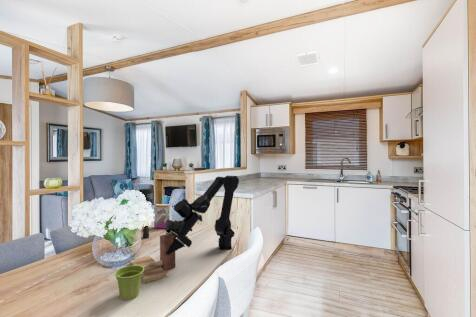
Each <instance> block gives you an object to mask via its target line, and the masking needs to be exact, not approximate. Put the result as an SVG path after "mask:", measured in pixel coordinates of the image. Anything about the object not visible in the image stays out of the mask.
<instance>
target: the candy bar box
mask: <svg viewBox="0 0 476 317" xmlns="http://www.w3.org/2000/svg"><path fill="white" fill-rule="evenodd" d="M153 205H154V212H155V221H154V222H153V223H154V225H153V226H154V227H153V228H154V229H165V228H166V227H167V226H165V224H166V222H167V220H168V219H169V220H172V221H173V219H172V218H173V214H172V212H173V211H172V210H173V205H172V203H170V204H169V203H156V204H153ZM154 212H153V213H154Z"/></svg>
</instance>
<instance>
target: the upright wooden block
mask: <svg viewBox="0 0 476 317" xmlns="http://www.w3.org/2000/svg"><path fill="white" fill-rule="evenodd" d="M174 238H175V236H174V235H173V234H171V233H168V232H167V233H166V232H165V234H160V235H159V258H160V260H157V261H155V262H154V263H150V264H147V265H144V266H142V267H144V270H148V269H151V268H154V267H157V266H160V267H162V268H163V269H164V270H165V271H166V272H167V271H169V270H173V269H174V268H176V251H174V252H173V253H171V254H169V255H167V254H166V253H167V251H168V250H169V248H170V246H171V245H172V243H173V241H174Z"/></svg>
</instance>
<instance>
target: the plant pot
mask: <svg viewBox="0 0 476 317" xmlns="http://www.w3.org/2000/svg"><path fill="white" fill-rule="evenodd" d="M143 271H144V267H142V266H139V265H126V266H123V267H120V268H119V269H117V270H116V271H115V272H114V277H115V278H116V280H117V285H118V293H119V298H120V299H121V300H123V301H124V300H127V301H128V300H129V301H130V300H133V299H135V298H137V297H138V295H139V294H140V288H141V281H142V280H141V276H142V273H143Z"/></svg>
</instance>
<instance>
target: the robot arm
mask: <svg viewBox="0 0 476 317" xmlns="http://www.w3.org/2000/svg"><path fill="white" fill-rule="evenodd" d="M239 183H240V179H239V178H238V176H237V175H225V176H216V177H215V179H214V181H213V182H212V183H211V184H210V186H208V188H207V190H206V191H205V192H203V194H202V195H201V196H198V197H197V198H196V199H195V200H194V201H192V203H189V202H188V201H189V200H187V199H186V198H182V200H180V201H178V202H177V203H176V204H174V207H173V210H174V211H175V212H176V213H177V215H179V216H180V217H181V218H182V220H173V219H172V220H169V219H168V220H167V222H166V224H165V226H167V227H166V228H164V231H165V234H166V233H171V234H173V235H174V236H175V238H174V241H173V243H172V245H171V246H170V248H169V250H168V251H167V253H166V254H167V255H169V254H171V253H173V252H174V251H175V252H176V251H178V250H180V249H182V248H185V247H187V248H190V247H191V246H192V244H193V242H192V239H190V238H189V237H188V236H187V235H188V234H189V232H193V227H194V226H195V225H196V224H197V222H198V221H199V222H203V215H202V214H205V213H206V212H208V209H209V208H210V206H211V201H212V200H213V199H214V197H215V196H216V194H217V193H218V192H219V191H220V189H221V188H222V187H223V188H224V189H223V190H224V194H223V199H222V206H221V209H220V210H221V211H220V216H219V218H218V219H215V221H214V231H215V233H216V236H219V238H218V248H219V250H232V248H233V247H232V239H233V237H235V232H234V230H233V229H232V223H231V219H230V218H231V216H230V215H231V211H232V210H231V209H232V204H233V198H234V194H235V191H236V190H237V189H238V186H239ZM198 213H199V214H198Z"/></svg>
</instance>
